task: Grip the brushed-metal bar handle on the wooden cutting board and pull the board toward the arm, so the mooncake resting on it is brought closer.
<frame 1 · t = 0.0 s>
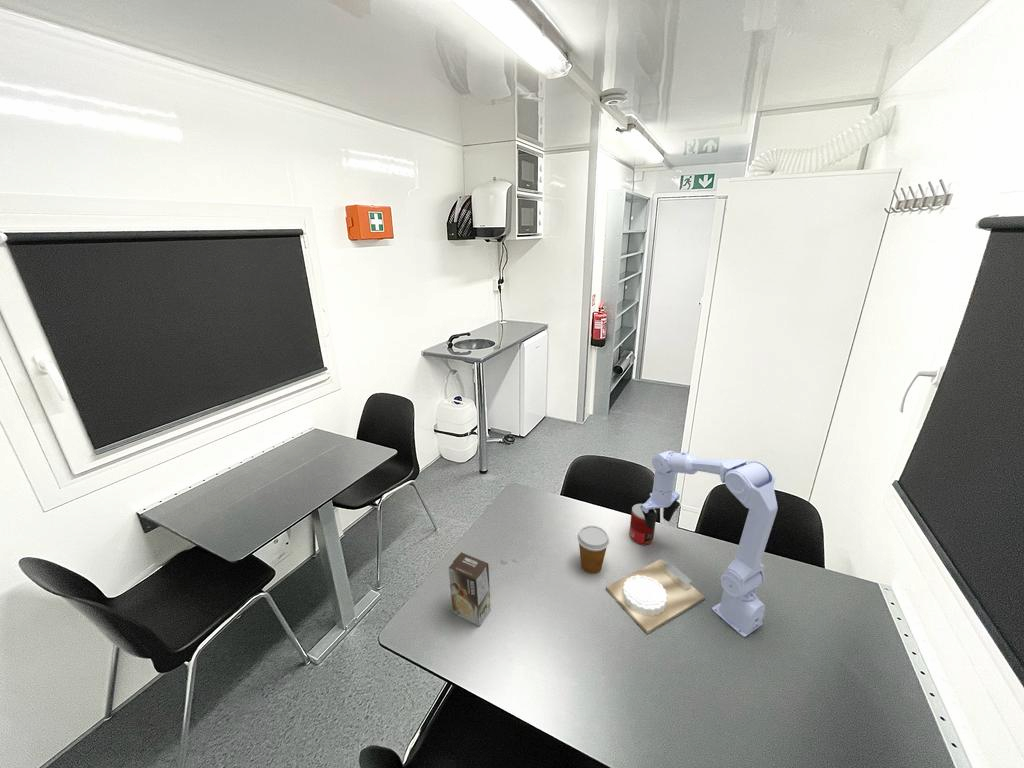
hand: (658, 523, 127), 10 cm above the table, tool pointing down, fingers open, 7 cm apart
coffee box: (471, 611, 109), on the table
disposable coffee cup: (591, 566, 124), on the table
mooncake: (643, 600, 112), resting on wooden cutting board
wooden cutting board: (654, 589, 113), point 2 cm above the table, slide at 0.2 cm, touching mooncake
canned food: (640, 537, 136), on the table
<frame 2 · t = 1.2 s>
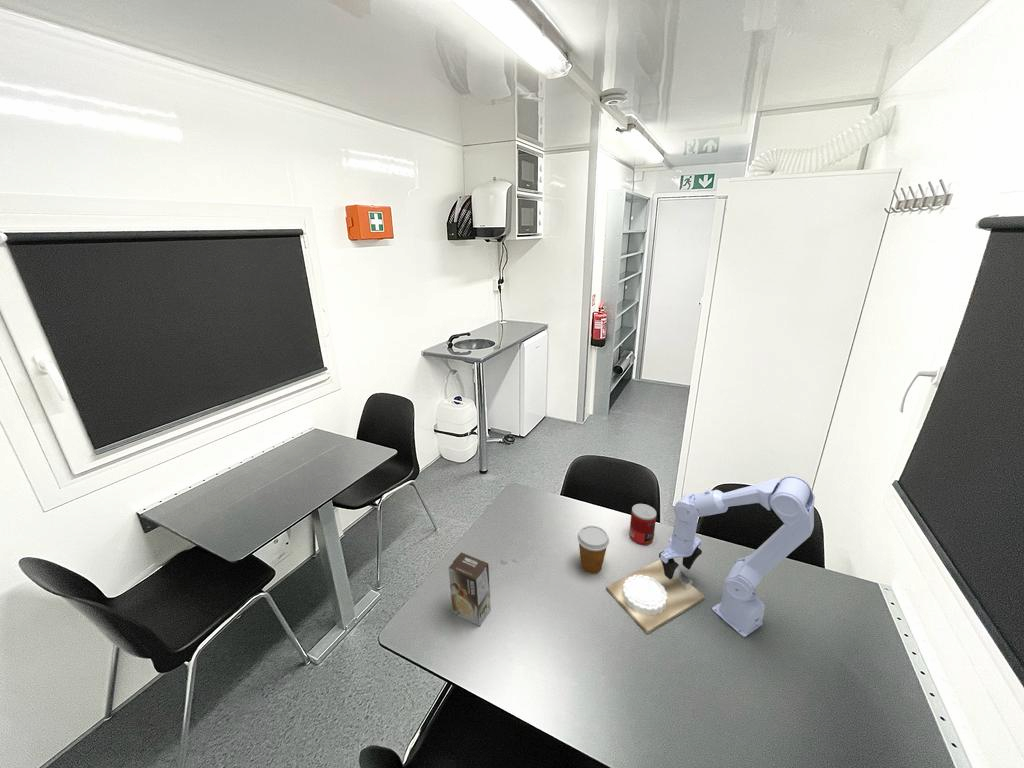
hand: (677, 571, 116), 4 cm above the table, tool pointing down, fingers open, 7 cm apart
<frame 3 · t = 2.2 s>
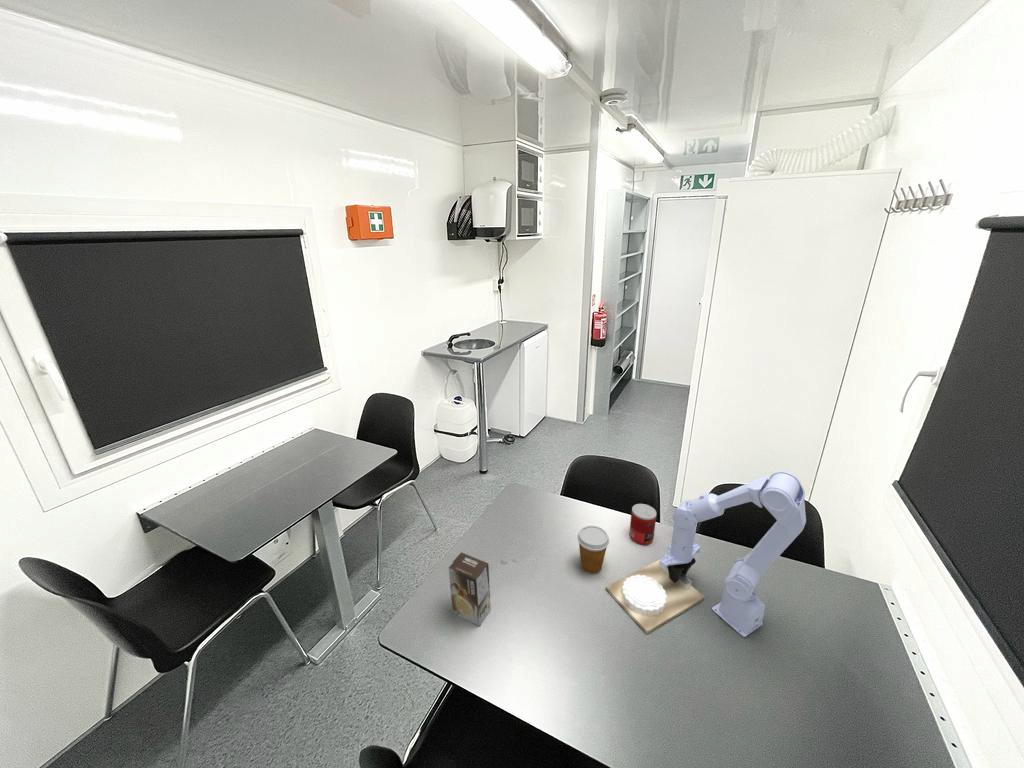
hand: (676, 578, 117), 2 cm above the table, tool pointing down, fingers closed on wooden cutting board, 2 cm apart
wooden cutting board: (654, 589, 113), point 2 cm above the table, slide at 0.0 cm, touching mooncake, gripper
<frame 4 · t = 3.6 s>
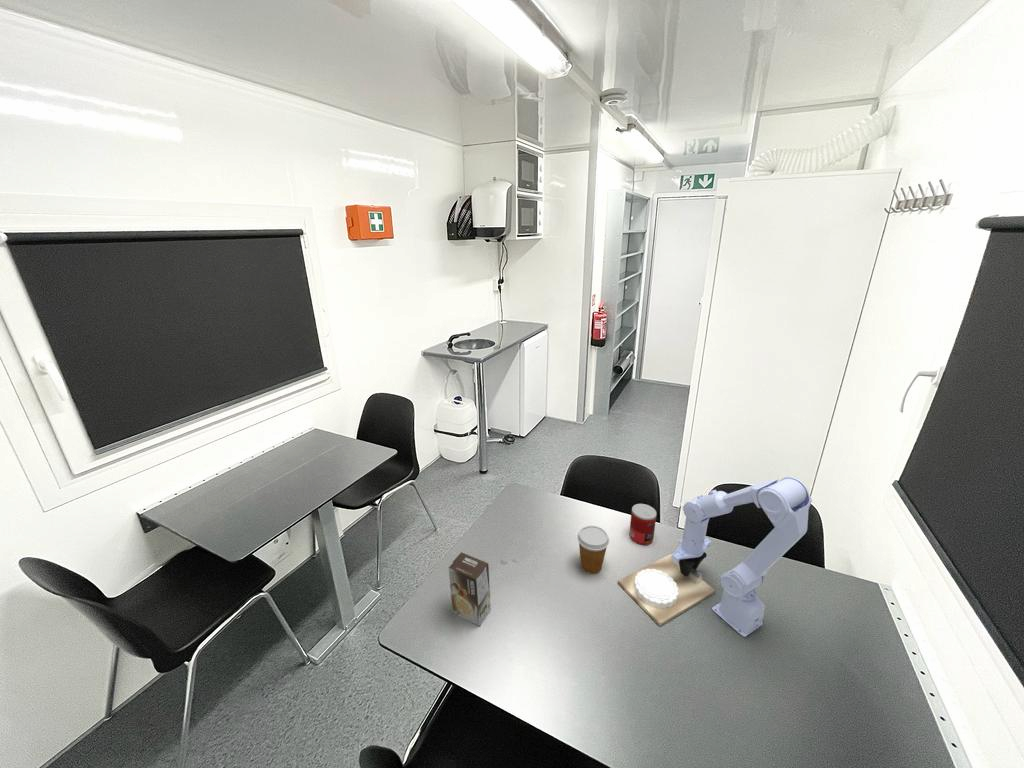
hand: (687, 572, 119), 2 cm above the table, tool pointing down, fingers closed on wooden cutting board, 3 cm apart
mooncake: (655, 593, 114), resting on wooden cutting board
wooden cutting board: (666, 583, 115), point 2 cm above the table, slide at 4.7 cm, touching mooncake, gripper
everything else where it was.
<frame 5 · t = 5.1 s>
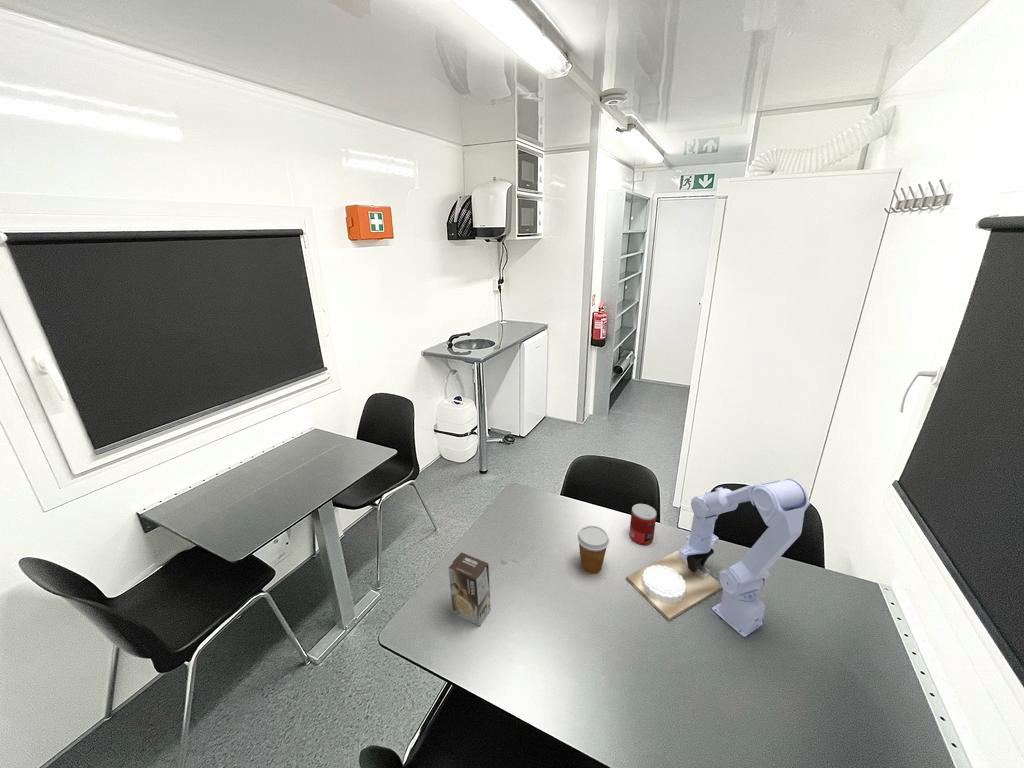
hand: (695, 568, 121), 2 cm above the table, tool pointing down, fingers closed on wooden cutting board, 2 cm apart
mooncake: (662, 589, 116), resting on wooden cutting board
wooden cutting board: (674, 579, 117), point 2 cm above the table, slide at 8.0 cm, touching mooncake, gripper
everything else where it was.
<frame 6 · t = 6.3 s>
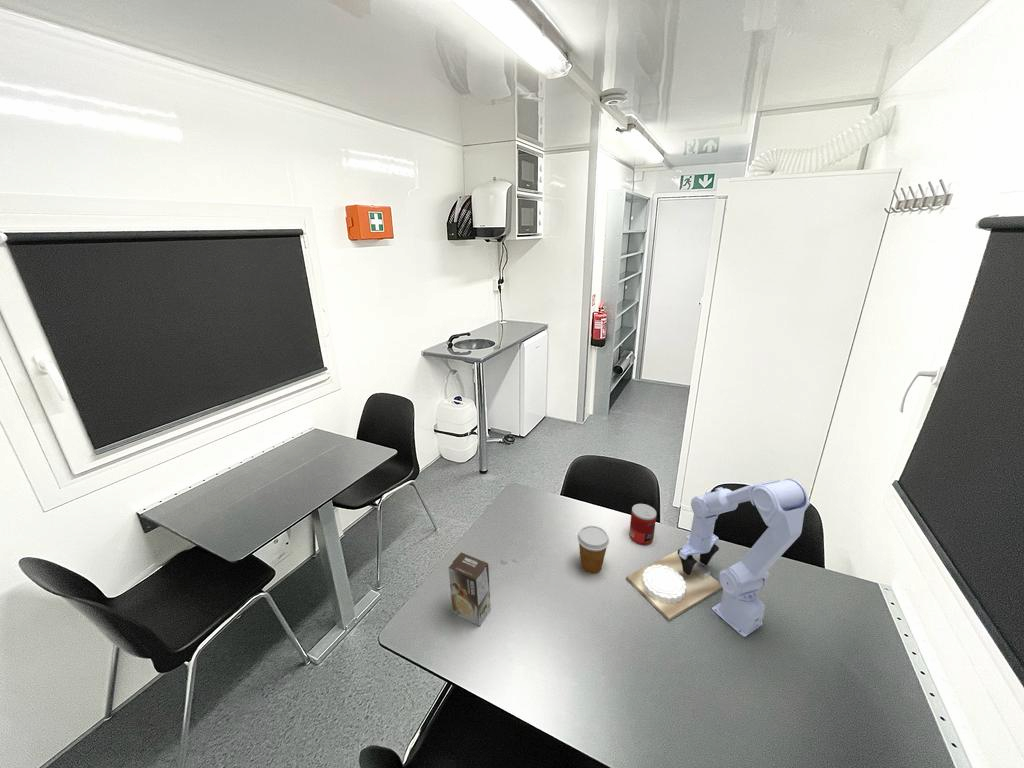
hand: (695, 568, 121), 2 cm above the table, tool pointing down, fingers open, 7 cm apart
wooden cutting board: (674, 579, 117), point 2 cm above the table, slide at 8.0 cm, touching mooncake
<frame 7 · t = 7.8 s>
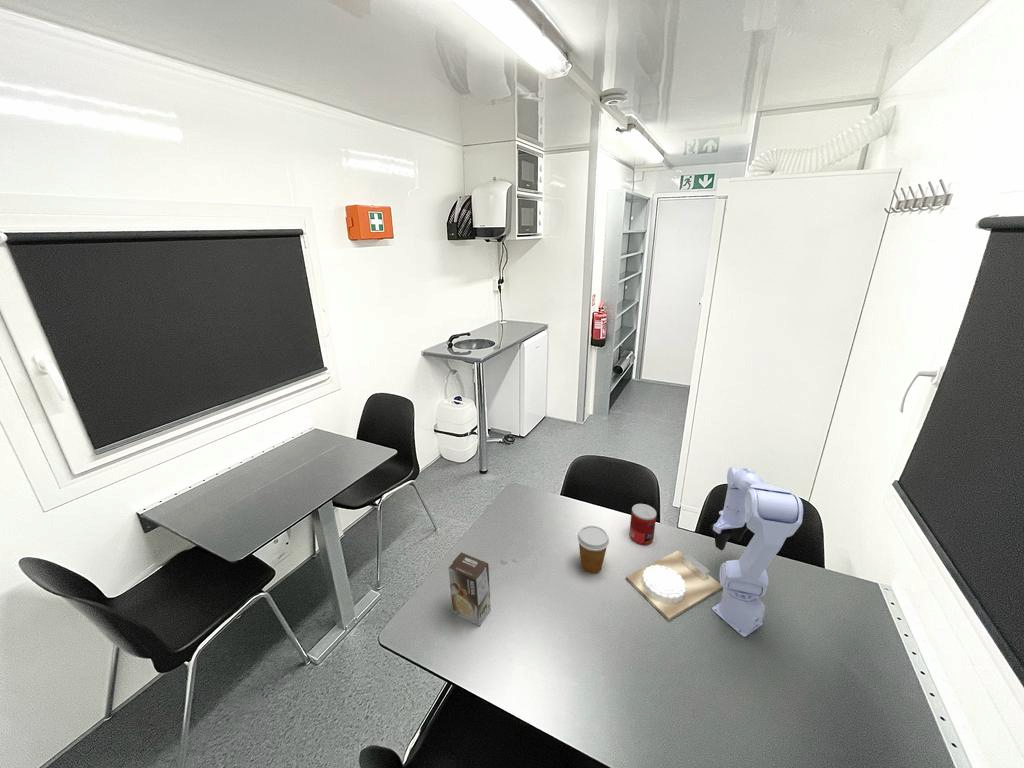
hand: (727, 543, 119), 9 cm above the table, tool pointing down, fingers open, 7 cm apart
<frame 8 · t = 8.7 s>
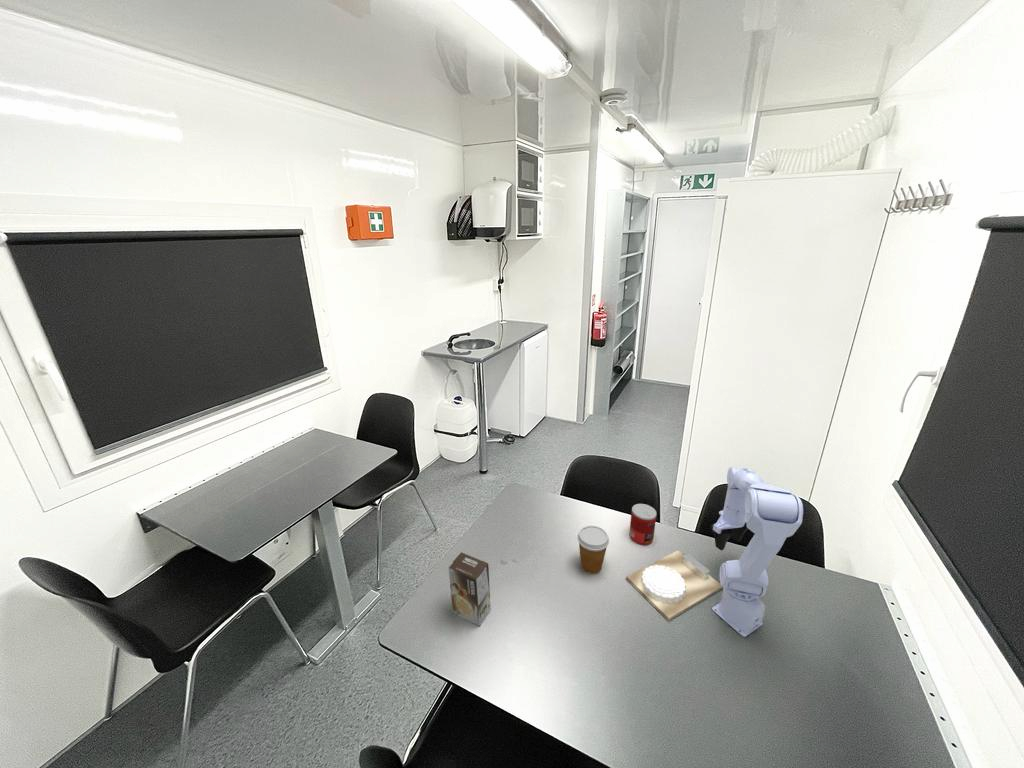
hand: (727, 543, 119), 9 cm above the table, tool pointing down, fingers open, 7 cm apart
at the end: wooden cutting board slide at 8.0 cm; mooncake inside the target area (0.7 cm from its centre), resting on wooden cutting board; mooncake touching wooden cutting board, table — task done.
